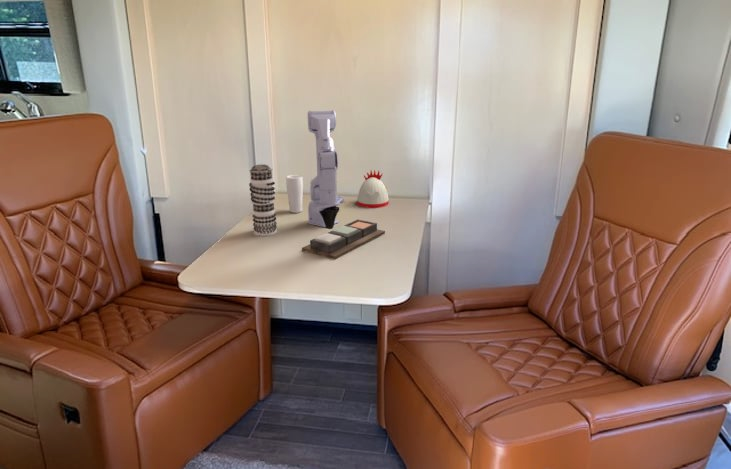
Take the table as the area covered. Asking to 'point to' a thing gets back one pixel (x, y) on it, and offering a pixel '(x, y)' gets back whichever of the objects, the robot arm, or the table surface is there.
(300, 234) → the table surface
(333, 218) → the robot arm
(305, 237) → the table surface
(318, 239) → the off-white key
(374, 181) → the knitted chicken hat
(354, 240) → the key board
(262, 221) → the white and black cylinder
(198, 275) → the table surface
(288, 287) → the table surface
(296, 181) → the drinking glass
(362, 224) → the terracotta key
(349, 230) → the sage key
